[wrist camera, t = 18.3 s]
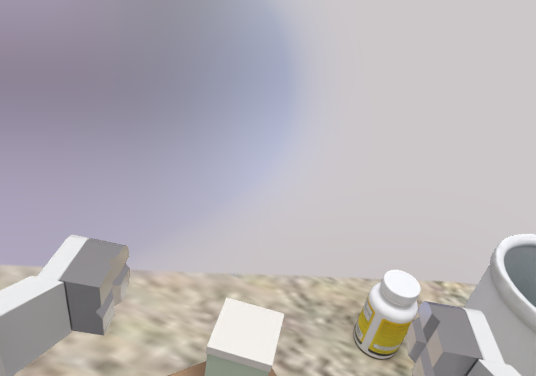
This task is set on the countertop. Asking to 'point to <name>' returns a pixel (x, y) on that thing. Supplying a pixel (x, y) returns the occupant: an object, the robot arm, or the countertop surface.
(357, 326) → the supplement bottle
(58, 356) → the countertop surface
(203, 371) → the walnut block
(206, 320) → the countertop surface
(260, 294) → the countertop surface
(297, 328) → the countertop surface
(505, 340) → the utensil holder
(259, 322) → the canister
